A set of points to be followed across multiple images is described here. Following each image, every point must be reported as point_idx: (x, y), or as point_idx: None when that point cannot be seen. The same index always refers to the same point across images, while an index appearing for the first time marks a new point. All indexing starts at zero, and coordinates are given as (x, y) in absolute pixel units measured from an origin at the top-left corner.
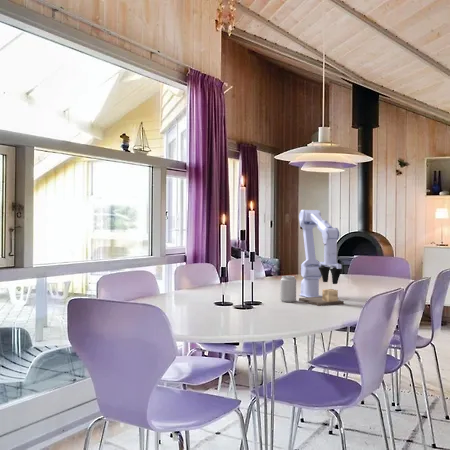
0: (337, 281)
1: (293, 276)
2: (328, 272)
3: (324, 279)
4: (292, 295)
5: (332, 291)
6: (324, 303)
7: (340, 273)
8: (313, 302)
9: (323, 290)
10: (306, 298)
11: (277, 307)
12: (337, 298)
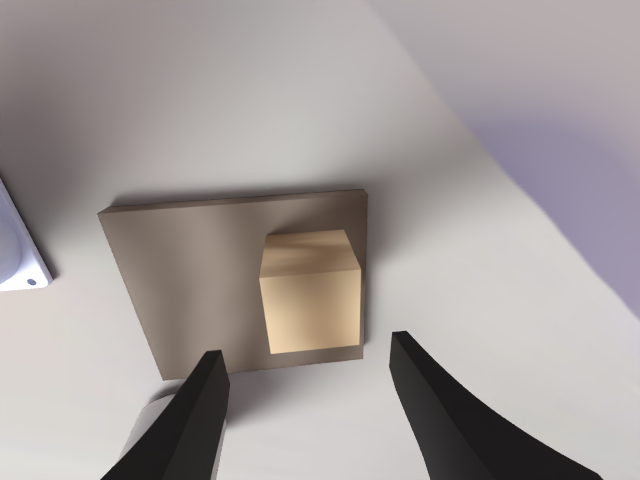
0: (421, 350)
1: None
2: (174, 466)
3: (221, 407)
4: (219, 446)
5: (358, 311)
6: (363, 323)
7: (523, 433)
8: (318, 360)
9: (286, 347)
10: (187, 352)
11: (333, 475)
12: (346, 238)
